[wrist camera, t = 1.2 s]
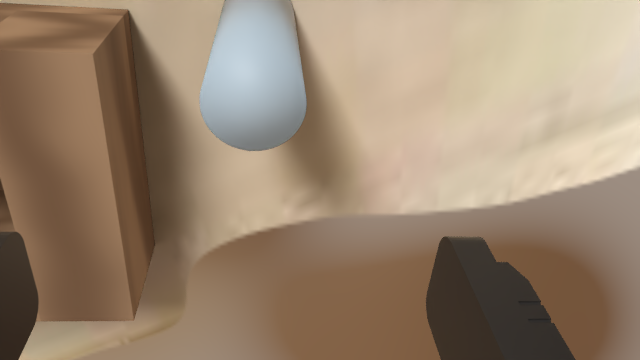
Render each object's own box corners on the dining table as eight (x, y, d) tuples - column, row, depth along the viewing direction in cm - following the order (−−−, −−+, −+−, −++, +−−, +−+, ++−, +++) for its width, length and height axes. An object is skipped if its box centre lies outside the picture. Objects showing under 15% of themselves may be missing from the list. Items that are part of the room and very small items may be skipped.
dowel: (296, -19, 25) (310, 55, 17) (292, 52, 27) (303, 152, 18) (221, -24, 25) (196, 50, 16) (222, 49, 26) (201, 149, 18)
